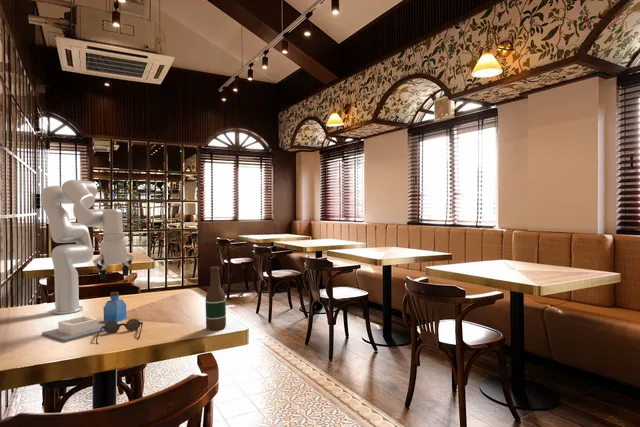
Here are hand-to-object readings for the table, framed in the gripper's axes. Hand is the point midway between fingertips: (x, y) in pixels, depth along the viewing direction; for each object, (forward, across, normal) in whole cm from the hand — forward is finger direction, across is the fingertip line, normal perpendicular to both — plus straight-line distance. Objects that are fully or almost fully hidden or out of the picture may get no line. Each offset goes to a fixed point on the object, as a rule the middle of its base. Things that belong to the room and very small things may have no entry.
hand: (114, 277), depth 173 cm
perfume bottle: (+19, 0, -1) cm, 19 cm away
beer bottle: (+19, -13, +47) cm, 53 cm away
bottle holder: (+18, +17, +3) cm, 25 cm away
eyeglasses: (+19, +12, +23) cm, 33 cm away
